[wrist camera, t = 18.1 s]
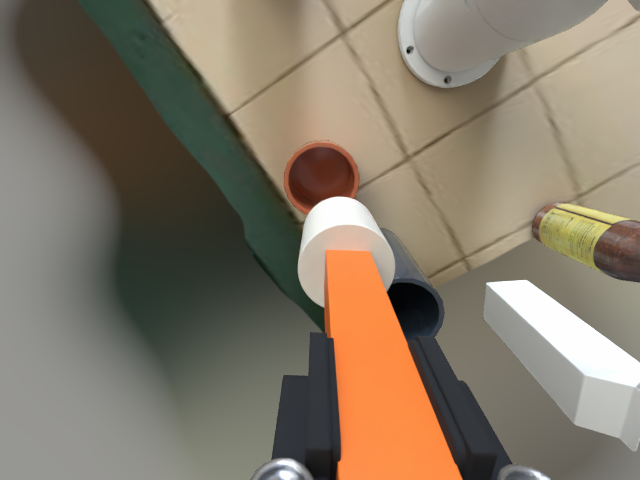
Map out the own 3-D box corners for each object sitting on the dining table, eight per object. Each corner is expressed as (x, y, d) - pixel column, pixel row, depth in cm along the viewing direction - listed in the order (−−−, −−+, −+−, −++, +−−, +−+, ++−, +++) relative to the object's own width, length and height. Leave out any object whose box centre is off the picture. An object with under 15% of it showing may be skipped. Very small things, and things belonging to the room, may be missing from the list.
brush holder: (289, 137, 41) (284, 140, 34) (355, 141, 41) (362, 144, 35) (288, 202, 44) (283, 215, 37) (350, 205, 44) (355, 219, 37)
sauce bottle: (537, 252, 46) (688, 337, 27) (523, 214, 44) (673, 278, 26) (583, 229, 45) (773, 302, 26) (571, 190, 43) (764, 239, 25)
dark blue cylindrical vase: (346, 225, 45) (361, 275, 30) (406, 228, 45) (451, 280, 30) (342, 279, 47) (353, 351, 32) (398, 282, 48) (436, 355, 33)
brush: (304, 195, 24) (240, 493, 4) (378, 197, 24) (630, 503, 5) (302, 263, 26) (250, 690, 6) (371, 266, 26) (532, 695, 6)
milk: (526, 279, 48) (691, 396, 27) (521, 315, 50) (671, 451, 29) (484, 282, 48) (615, 402, 27) (481, 318, 50) (601, 456, 29)
